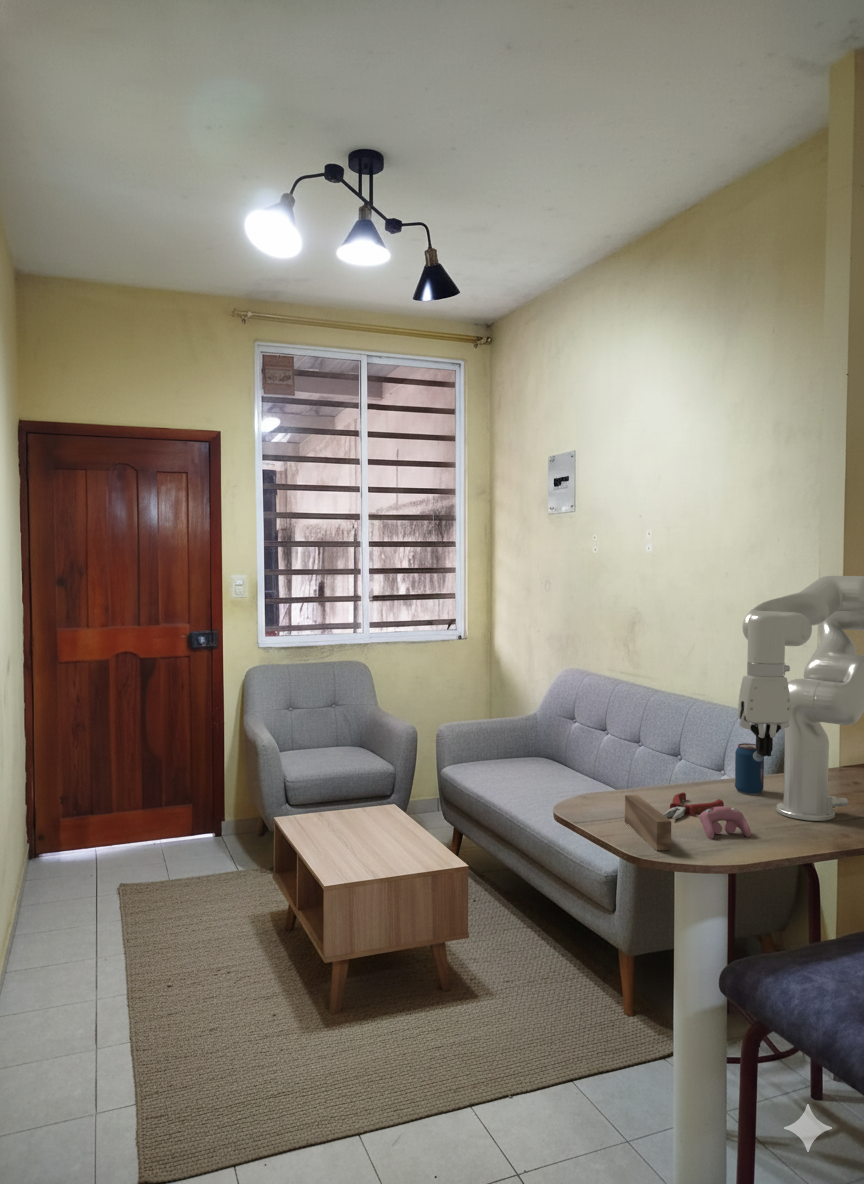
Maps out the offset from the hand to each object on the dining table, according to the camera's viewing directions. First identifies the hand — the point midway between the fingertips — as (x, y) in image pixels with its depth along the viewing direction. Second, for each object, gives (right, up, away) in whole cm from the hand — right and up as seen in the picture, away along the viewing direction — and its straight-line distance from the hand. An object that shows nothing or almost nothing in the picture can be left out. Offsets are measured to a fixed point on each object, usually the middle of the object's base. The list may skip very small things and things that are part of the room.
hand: (763, 754), depth 185 cm
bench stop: (-26, -17, -2) cm, 31 cm away
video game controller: (-9, -17, -1) cm, 20 cm away
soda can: (+10, -16, +35) cm, 40 cm away
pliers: (-12, -17, +18) cm, 28 cm away
